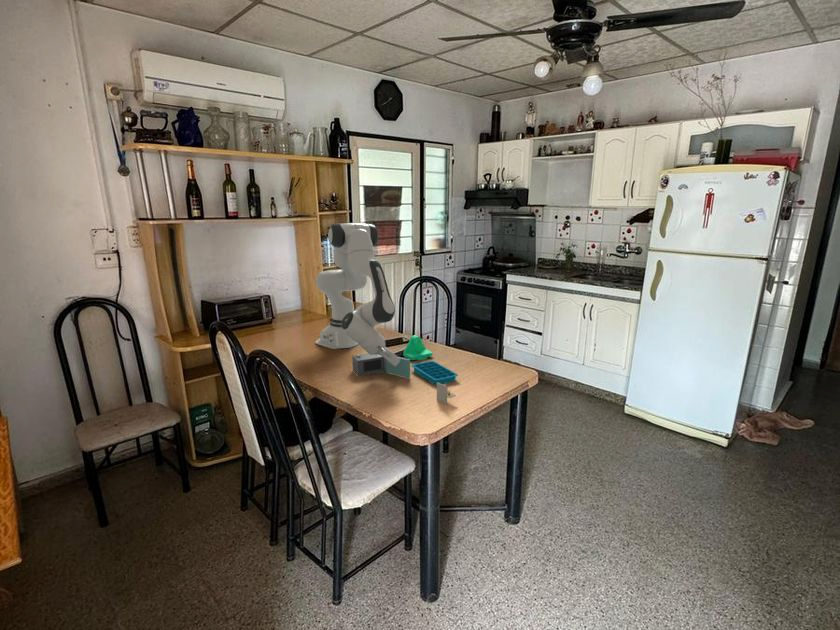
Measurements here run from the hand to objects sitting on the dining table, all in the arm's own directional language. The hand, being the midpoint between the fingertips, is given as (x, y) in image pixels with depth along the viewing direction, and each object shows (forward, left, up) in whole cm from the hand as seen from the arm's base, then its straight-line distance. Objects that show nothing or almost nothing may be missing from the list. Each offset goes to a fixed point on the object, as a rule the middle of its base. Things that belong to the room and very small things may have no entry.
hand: (396, 363), depth 182 cm
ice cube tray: (+13, +9, -7) cm, 17 cm away
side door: (-1, +2, -6) cm, 6 cm away
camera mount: (-4, +26, -7) cm, 27 cm away
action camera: (-13, +1, -6) cm, 15 cm away
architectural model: (+27, -12, -7) cm, 30 cm away
